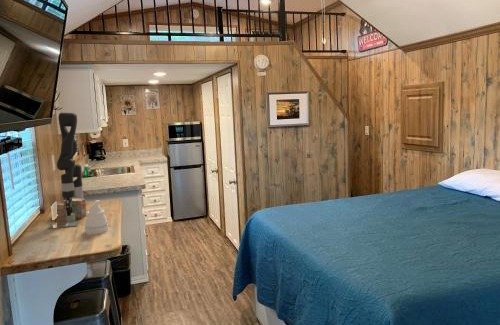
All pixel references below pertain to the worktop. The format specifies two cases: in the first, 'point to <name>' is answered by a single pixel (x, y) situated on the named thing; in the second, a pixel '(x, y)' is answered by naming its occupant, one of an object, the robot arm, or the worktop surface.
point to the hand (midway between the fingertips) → (69, 214)
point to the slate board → (69, 224)
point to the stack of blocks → (73, 208)
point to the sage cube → (70, 217)
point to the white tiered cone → (96, 220)
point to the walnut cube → (61, 220)
